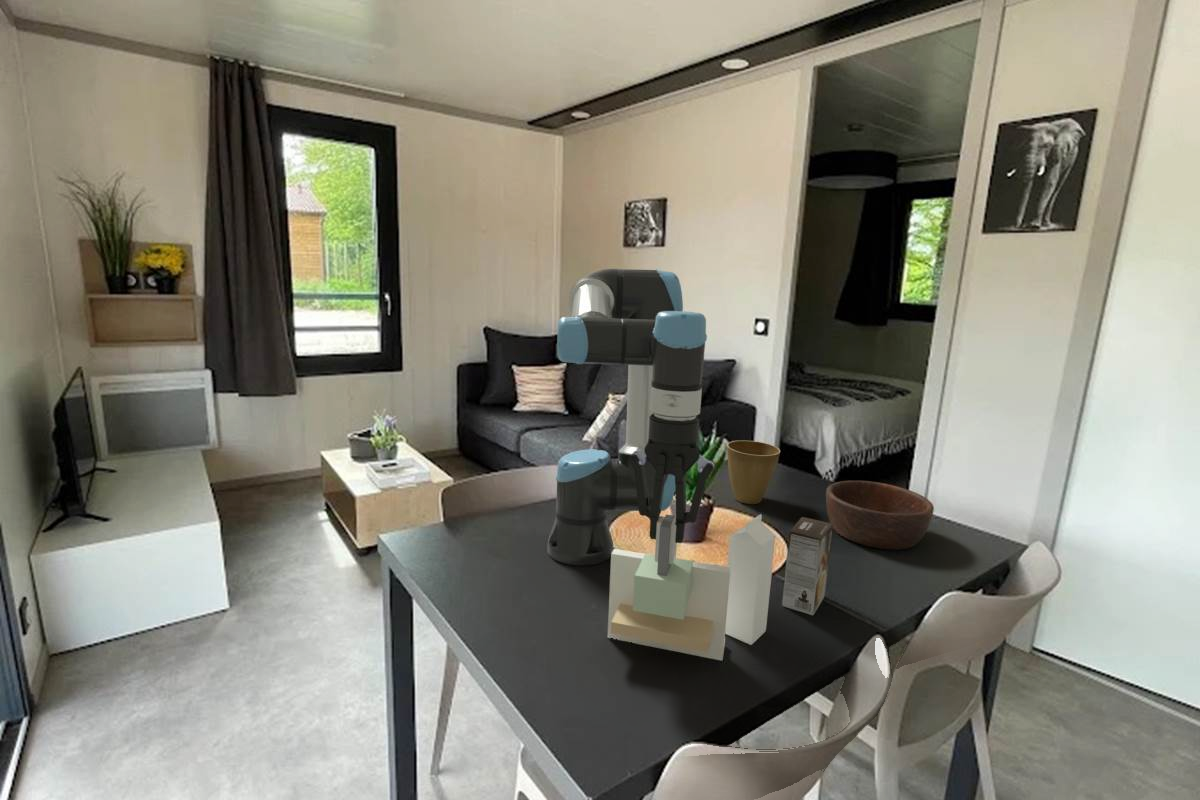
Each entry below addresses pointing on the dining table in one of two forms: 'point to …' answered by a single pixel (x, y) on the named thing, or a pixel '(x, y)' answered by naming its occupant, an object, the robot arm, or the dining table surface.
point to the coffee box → (807, 565)
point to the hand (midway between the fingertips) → (665, 558)
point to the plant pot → (751, 469)
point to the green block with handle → (663, 580)
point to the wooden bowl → (878, 514)
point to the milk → (749, 580)
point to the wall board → (688, 636)
